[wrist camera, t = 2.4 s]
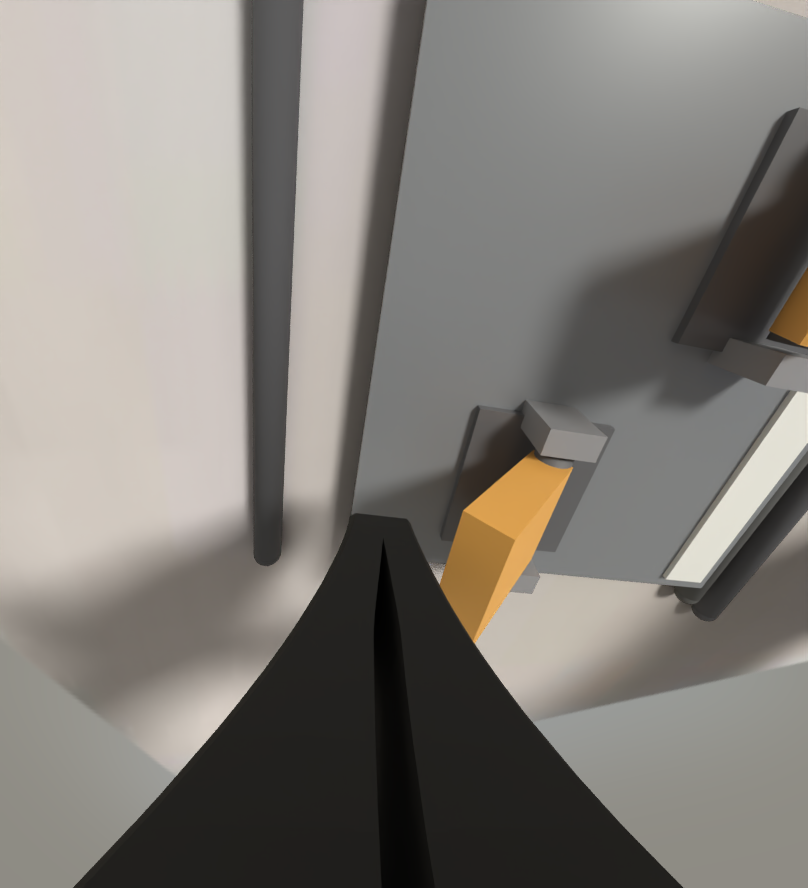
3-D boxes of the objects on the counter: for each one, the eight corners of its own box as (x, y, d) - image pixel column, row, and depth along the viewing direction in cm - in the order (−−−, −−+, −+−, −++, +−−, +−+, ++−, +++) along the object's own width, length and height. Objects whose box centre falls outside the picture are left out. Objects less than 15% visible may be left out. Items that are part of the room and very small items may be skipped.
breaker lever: (580, 455, 11) (518, 532, 8) (534, 555, 13) (465, 657, 9) (541, 439, 12) (465, 502, 8) (503, 537, 14) (426, 626, 10)
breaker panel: (1000, 119, 10) (1246, 73, 7) (681, 566, 17) (739, 631, 14) (434, -58, 8) (463, -216, 5) (348, 532, 15) (340, 598, 13)
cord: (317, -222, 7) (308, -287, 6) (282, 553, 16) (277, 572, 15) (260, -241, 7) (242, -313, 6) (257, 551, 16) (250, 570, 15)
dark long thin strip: (1013, 151, 10) (1073, 144, 9) (684, 591, 18) (699, 609, 17) (984, 142, 10) (1041, 134, 9) (665, 589, 18) (679, 608, 17)
